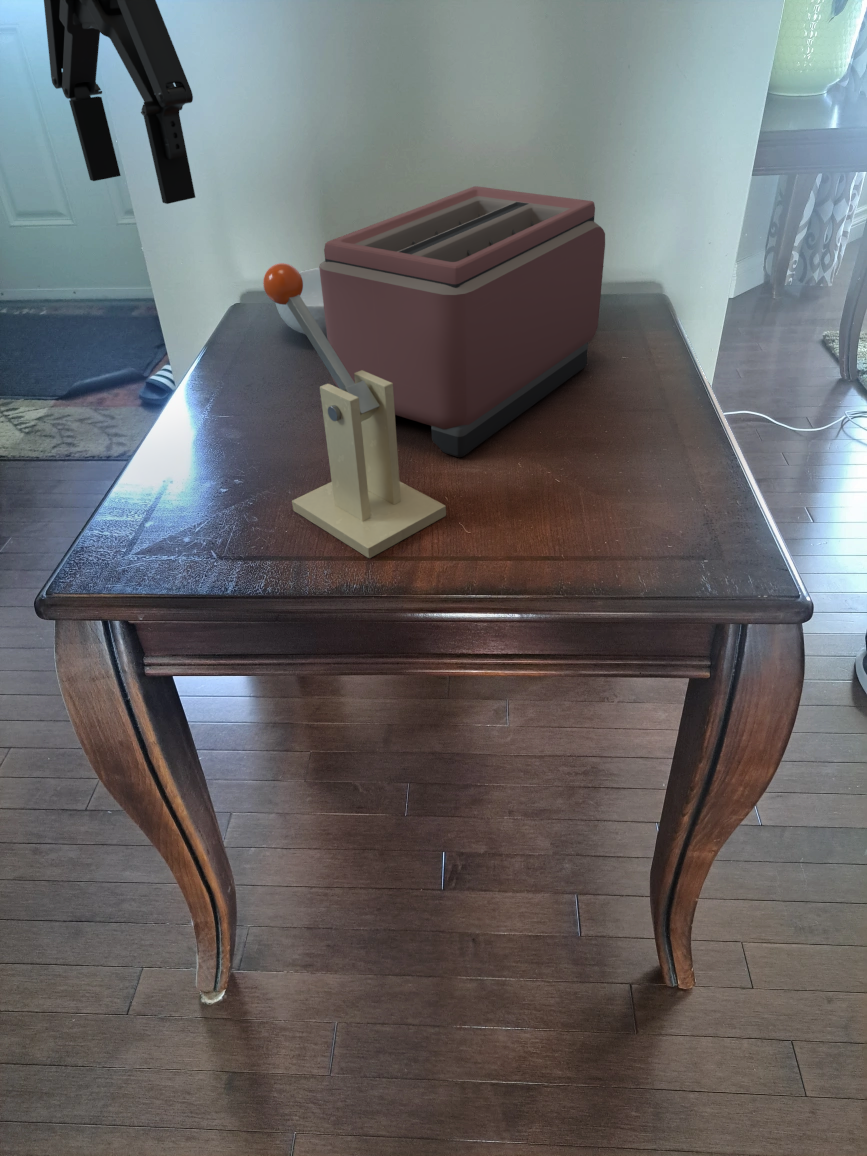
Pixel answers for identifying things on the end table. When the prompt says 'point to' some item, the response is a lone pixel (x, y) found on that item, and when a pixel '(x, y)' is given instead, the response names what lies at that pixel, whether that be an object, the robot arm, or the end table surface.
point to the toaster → (467, 306)
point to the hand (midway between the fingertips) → (140, 189)
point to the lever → (315, 332)
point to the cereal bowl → (307, 301)
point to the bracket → (365, 475)
